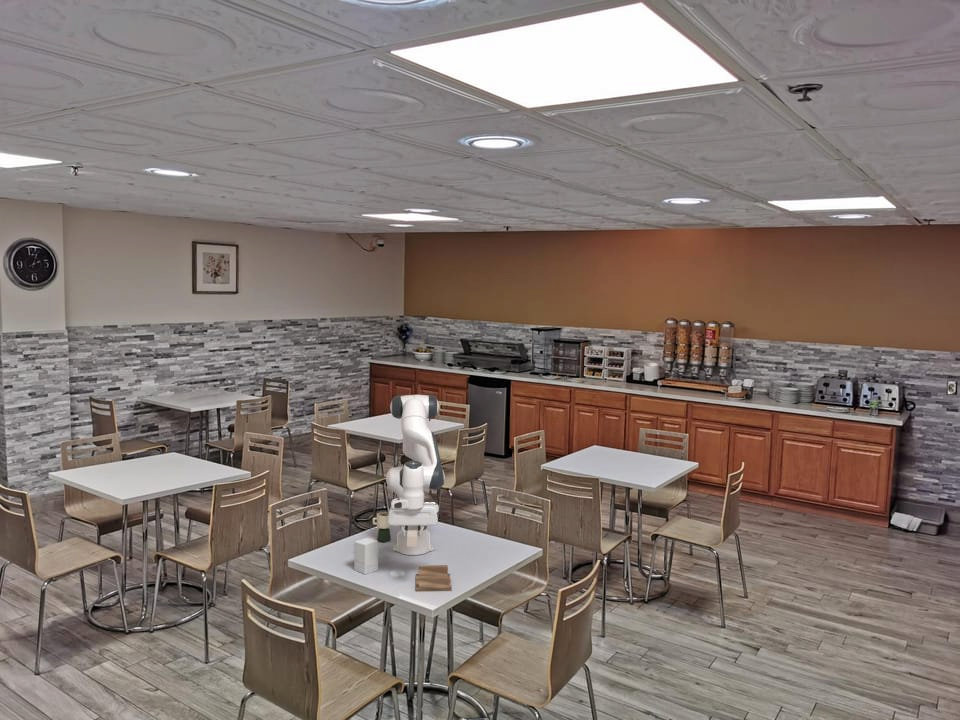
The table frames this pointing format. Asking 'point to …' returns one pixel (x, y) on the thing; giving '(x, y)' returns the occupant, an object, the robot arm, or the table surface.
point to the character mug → (383, 526)
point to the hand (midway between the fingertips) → (412, 535)
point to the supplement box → (366, 555)
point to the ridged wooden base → (433, 578)
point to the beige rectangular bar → (412, 536)
